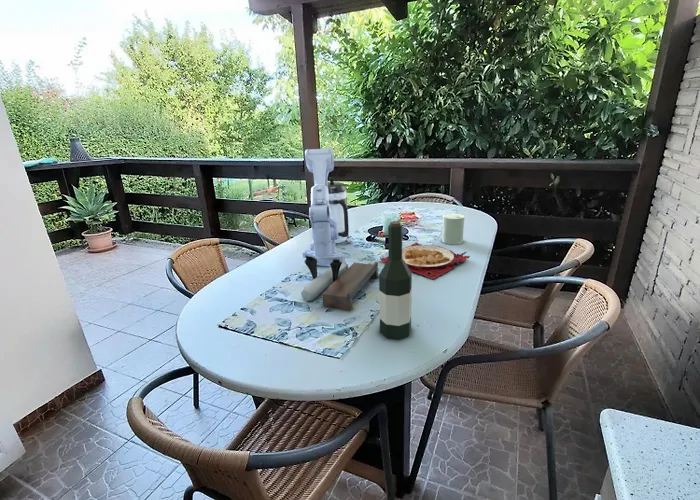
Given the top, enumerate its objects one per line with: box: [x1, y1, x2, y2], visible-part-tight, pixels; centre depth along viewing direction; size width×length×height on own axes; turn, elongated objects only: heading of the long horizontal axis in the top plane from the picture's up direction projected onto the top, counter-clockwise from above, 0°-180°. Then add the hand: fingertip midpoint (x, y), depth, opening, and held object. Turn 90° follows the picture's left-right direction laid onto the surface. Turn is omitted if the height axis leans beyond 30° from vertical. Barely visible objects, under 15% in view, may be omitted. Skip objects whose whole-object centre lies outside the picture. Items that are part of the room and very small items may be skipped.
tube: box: [300, 260, 349, 302], centre depth 124 cm, size 5×5×25 cm
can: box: [441, 212, 466, 245], centre depth 161 cm, size 9×9×12 cm
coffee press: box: [328, 176, 352, 244], centre depth 162 cm, size 17×16×30 cm
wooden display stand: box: [321, 261, 379, 312], centre depth 120 cm, size 9×26×6 cm, turn 157°
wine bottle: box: [378, 220, 413, 341], centre depth 92 cm, size 8×8×30 cm
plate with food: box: [379, 242, 471, 280], centre depth 142 cm, size 24×26×4 cm
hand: (325, 279), depth 124 cm, fingers open, 7 cm apart
